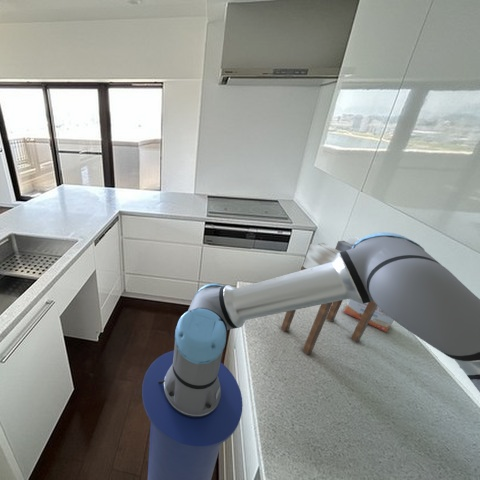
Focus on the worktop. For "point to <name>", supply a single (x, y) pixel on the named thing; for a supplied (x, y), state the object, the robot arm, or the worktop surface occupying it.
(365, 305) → the cracker box
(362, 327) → the wooden side table
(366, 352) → the worktop surface
